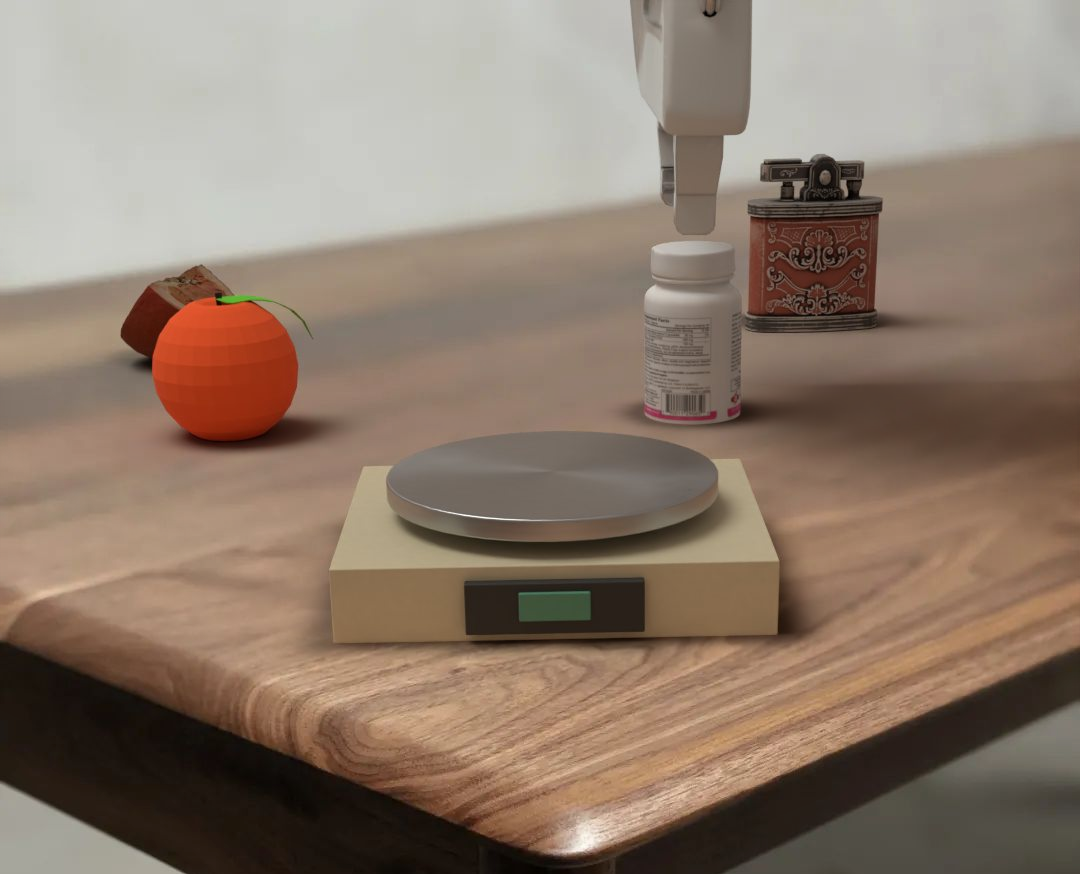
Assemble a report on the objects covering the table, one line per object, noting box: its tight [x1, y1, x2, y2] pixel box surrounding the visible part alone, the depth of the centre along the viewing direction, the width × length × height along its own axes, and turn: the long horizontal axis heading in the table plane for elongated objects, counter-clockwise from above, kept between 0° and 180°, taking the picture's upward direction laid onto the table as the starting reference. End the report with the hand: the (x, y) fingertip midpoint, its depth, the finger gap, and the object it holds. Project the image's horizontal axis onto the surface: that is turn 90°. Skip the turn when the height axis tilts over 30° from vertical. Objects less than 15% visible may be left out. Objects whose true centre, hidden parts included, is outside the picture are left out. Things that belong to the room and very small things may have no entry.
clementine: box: [151, 293, 314, 442], centre depth 88 cm, size 8×7×7 cm
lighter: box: [744, 153, 884, 333], centre depth 110 cm, size 8×3×10 cm, turn 94°
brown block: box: [119, 264, 236, 360], centre depth 106 cm, size 8×7×5 cm
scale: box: [328, 458, 781, 644], centre depth 67 cm, size 15×14×3 cm
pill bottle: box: [643, 240, 743, 426], centre depth 90 cm, size 5×5×8 cm
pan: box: [386, 430, 718, 542], centre depth 67 cm, size 12×12×1 cm
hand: (685, 218), depth 87 cm, fingers open, 8 cm apart
